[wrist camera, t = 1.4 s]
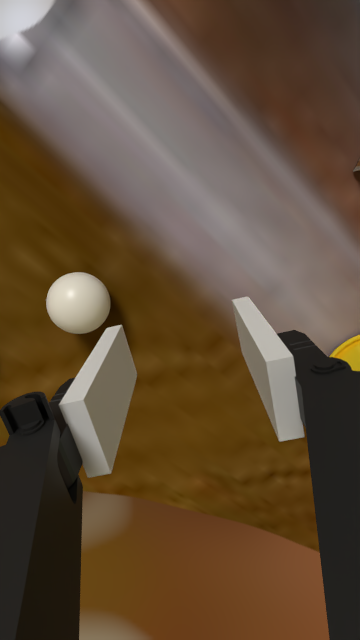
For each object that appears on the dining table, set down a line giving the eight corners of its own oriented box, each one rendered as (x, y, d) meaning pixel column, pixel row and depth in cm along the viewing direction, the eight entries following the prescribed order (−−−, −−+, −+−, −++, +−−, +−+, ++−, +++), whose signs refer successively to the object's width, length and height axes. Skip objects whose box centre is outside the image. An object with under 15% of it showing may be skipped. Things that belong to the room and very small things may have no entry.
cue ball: (106, 261, 31) (91, 272, 26) (122, 315, 33) (111, 335, 28) (51, 274, 32) (25, 287, 27) (70, 327, 34) (49, 349, 28)
